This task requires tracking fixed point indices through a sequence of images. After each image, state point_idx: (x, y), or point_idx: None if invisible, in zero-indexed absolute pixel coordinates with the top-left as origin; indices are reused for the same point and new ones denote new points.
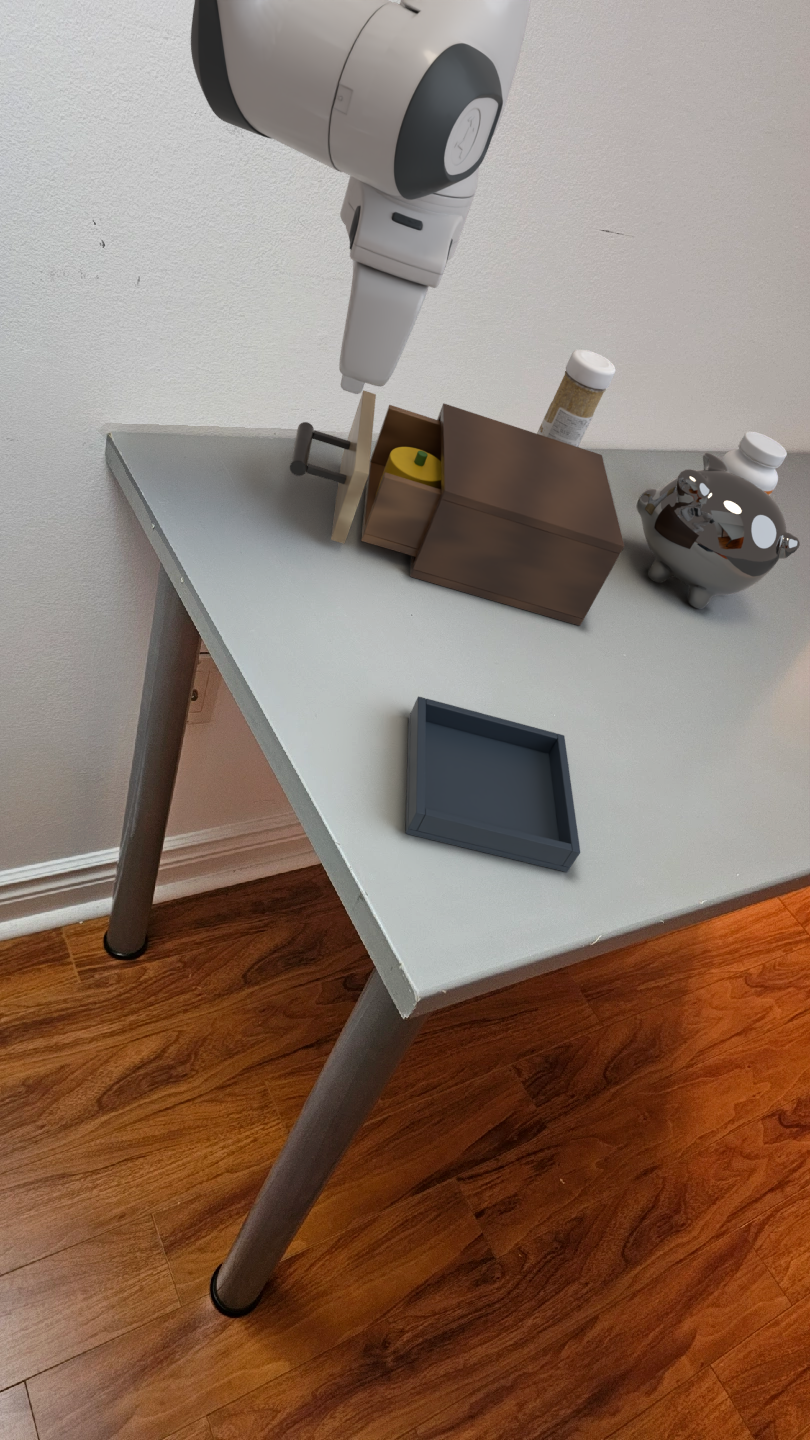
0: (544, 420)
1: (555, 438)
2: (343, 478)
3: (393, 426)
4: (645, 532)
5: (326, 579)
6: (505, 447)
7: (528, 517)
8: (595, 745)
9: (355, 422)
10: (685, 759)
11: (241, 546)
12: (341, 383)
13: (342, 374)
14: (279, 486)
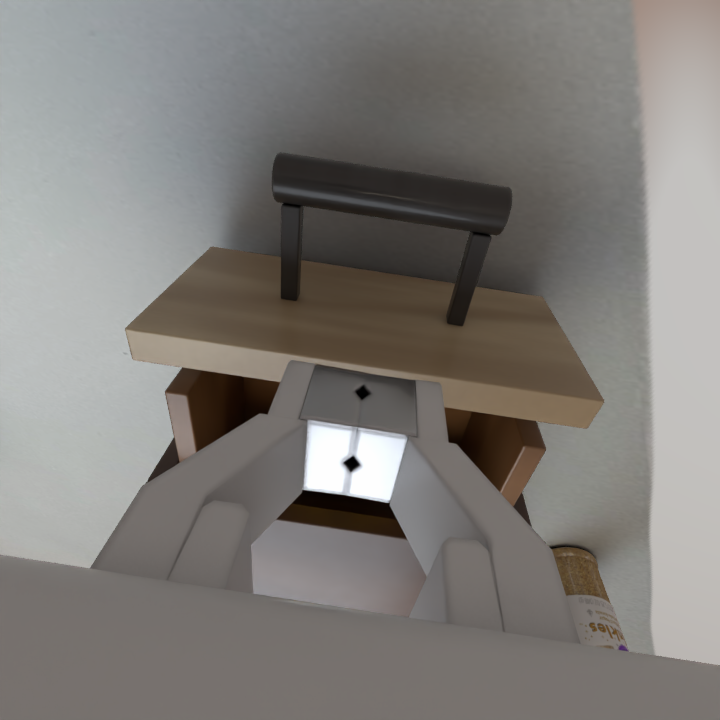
0: (604, 643)
1: None
2: (281, 293)
3: (506, 432)
4: None
5: (125, 229)
6: (389, 607)
7: None
8: (37, 491)
9: (503, 351)
10: (81, 548)
11: (115, 33)
12: (286, 367)
13: (375, 380)
14: (406, 140)
